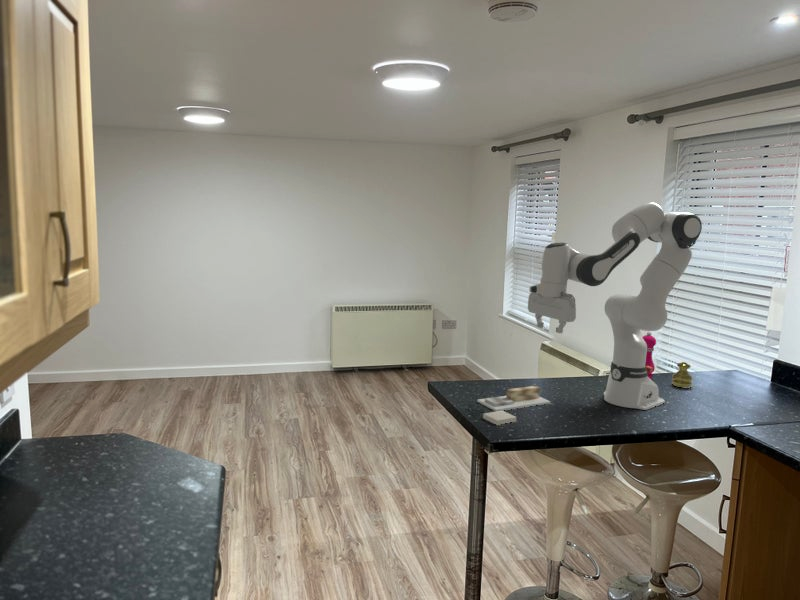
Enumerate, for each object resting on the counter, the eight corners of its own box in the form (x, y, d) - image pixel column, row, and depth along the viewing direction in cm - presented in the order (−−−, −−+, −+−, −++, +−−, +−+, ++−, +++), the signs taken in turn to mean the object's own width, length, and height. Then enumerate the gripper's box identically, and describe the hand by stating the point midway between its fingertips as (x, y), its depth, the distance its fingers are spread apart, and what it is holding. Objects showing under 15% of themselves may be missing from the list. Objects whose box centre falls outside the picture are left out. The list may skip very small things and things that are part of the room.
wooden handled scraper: (531, 394, 216) (532, 384, 215) (542, 399, 211) (543, 389, 210) (484, 401, 206) (485, 390, 205) (495, 406, 201) (496, 395, 200)
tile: (502, 410, 195) (483, 413, 191) (516, 417, 190) (497, 420, 185) (501, 415, 196) (482, 419, 192) (516, 422, 190) (497, 426, 186)
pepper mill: (655, 381, 245) (660, 334, 242) (636, 379, 246) (642, 332, 243) (651, 376, 252) (656, 330, 249) (633, 374, 254) (638, 329, 250)
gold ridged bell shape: (667, 383, 243) (670, 359, 241) (684, 383, 244) (687, 360, 242) (677, 389, 235) (680, 364, 234) (695, 389, 236) (698, 365, 235)
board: (529, 394, 219) (530, 392, 219) (550, 403, 209) (550, 401, 209) (477, 401, 208) (477, 399, 207) (496, 411, 198) (496, 409, 198)
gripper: (582, 294, 193) (578, 335, 195) (540, 286, 211) (536, 323, 213) (568, 295, 190) (564, 337, 192) (526, 286, 208) (523, 324, 210)
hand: (549, 330), depth 203 cm, fingers open, 8 cm apart
